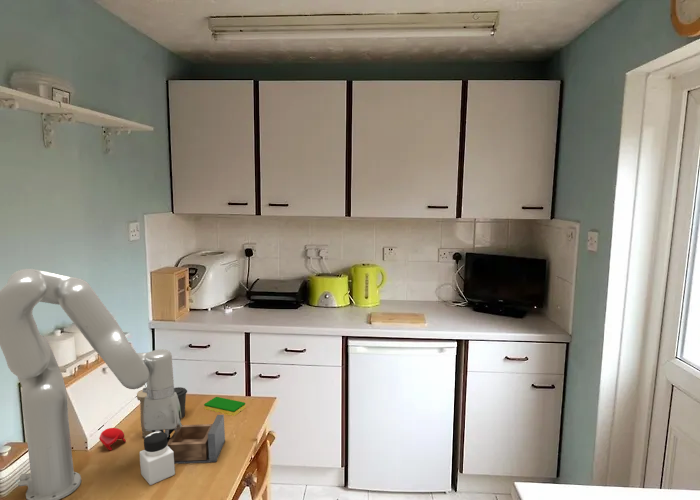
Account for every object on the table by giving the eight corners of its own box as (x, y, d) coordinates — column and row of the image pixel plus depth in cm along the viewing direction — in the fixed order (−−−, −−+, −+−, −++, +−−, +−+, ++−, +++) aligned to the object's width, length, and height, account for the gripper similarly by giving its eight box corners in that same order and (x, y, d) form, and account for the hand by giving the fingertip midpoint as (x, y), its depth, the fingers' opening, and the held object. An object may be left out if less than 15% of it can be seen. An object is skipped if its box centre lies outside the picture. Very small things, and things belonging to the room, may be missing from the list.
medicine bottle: (175, 474, 129) (173, 435, 128) (150, 486, 125) (146, 445, 123) (165, 464, 135) (163, 425, 133) (140, 474, 130) (137, 435, 128)
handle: (141, 442, 146) (138, 398, 144) (139, 433, 152) (135, 391, 150) (157, 438, 149) (154, 394, 147) (154, 429, 154) (151, 387, 152)
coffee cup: (170, 410, 167) (168, 385, 166) (192, 411, 167) (190, 385, 166) (160, 422, 159) (158, 394, 158) (183, 422, 159) (181, 395, 158)
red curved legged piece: (101, 446, 139) (119, 431, 141) (93, 434, 142) (111, 419, 145) (115, 456, 144) (131, 441, 147) (107, 444, 148) (123, 430, 150)
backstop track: (143, 464, 134) (141, 436, 133) (158, 443, 146) (156, 416, 144) (216, 462, 135) (214, 433, 134) (225, 441, 147) (223, 414, 145)
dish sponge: (234, 417, 163) (233, 410, 163) (203, 410, 168) (203, 404, 168) (246, 408, 169) (245, 402, 169) (216, 402, 175) (216, 396, 175)
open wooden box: (167, 461, 134) (166, 444, 134) (179, 440, 146) (178, 425, 145) (206, 459, 135) (205, 443, 134) (215, 439, 146) (215, 424, 146)
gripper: (130, 397, 133) (135, 455, 136) (182, 395, 134) (186, 453, 137) (140, 386, 141) (145, 441, 143) (189, 384, 142) (193, 439, 144)
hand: (165, 447), depth 140 cm, fingers closed
